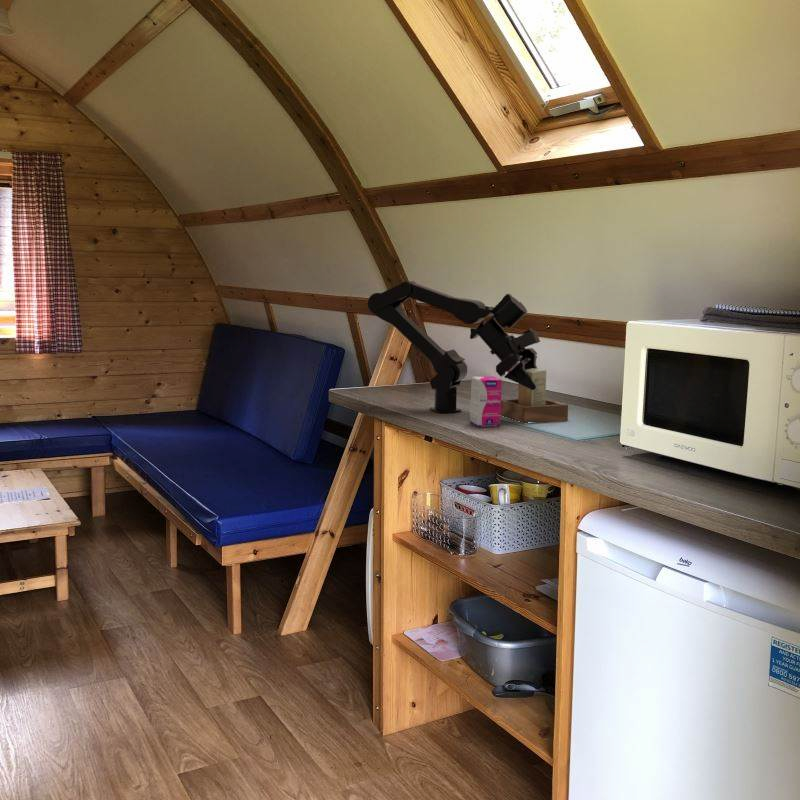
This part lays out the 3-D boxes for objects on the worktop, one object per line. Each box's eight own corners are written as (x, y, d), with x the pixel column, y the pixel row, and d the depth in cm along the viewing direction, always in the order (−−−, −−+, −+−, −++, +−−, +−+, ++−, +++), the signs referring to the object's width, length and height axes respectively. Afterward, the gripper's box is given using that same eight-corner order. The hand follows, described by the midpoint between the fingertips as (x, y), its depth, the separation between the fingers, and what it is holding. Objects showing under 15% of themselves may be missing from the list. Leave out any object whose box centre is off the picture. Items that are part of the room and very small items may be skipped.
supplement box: (477, 427, 209) (479, 379, 207) (469, 423, 214) (470, 376, 213) (500, 426, 210) (502, 379, 208) (491, 422, 216) (493, 375, 214)
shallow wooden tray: (498, 415, 226) (499, 400, 225) (540, 412, 231) (540, 397, 230) (524, 423, 214) (525, 407, 214) (567, 420, 219) (568, 404, 219)
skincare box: (531, 415, 226) (533, 368, 224) (545, 417, 223) (547, 369, 221) (516, 418, 222) (518, 370, 220) (530, 421, 219) (532, 371, 217)
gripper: (510, 320, 212) (553, 369, 209) (530, 316, 229) (571, 361, 226) (477, 351, 216) (520, 399, 213) (500, 345, 233) (539, 390, 230)
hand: (539, 386), depth 221 cm, fingers open, 8 cm apart
